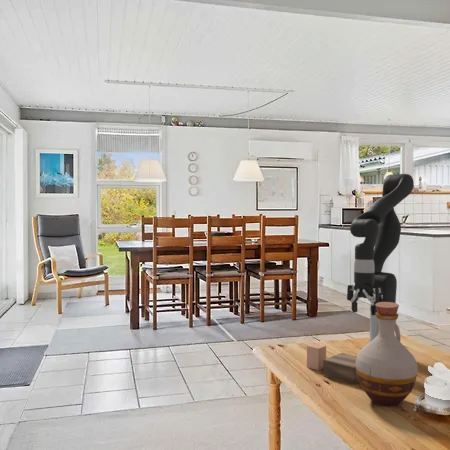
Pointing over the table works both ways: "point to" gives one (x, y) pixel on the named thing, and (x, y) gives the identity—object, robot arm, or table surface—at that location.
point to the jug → (386, 361)
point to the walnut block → (341, 368)
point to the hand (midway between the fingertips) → (364, 313)
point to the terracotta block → (316, 356)
